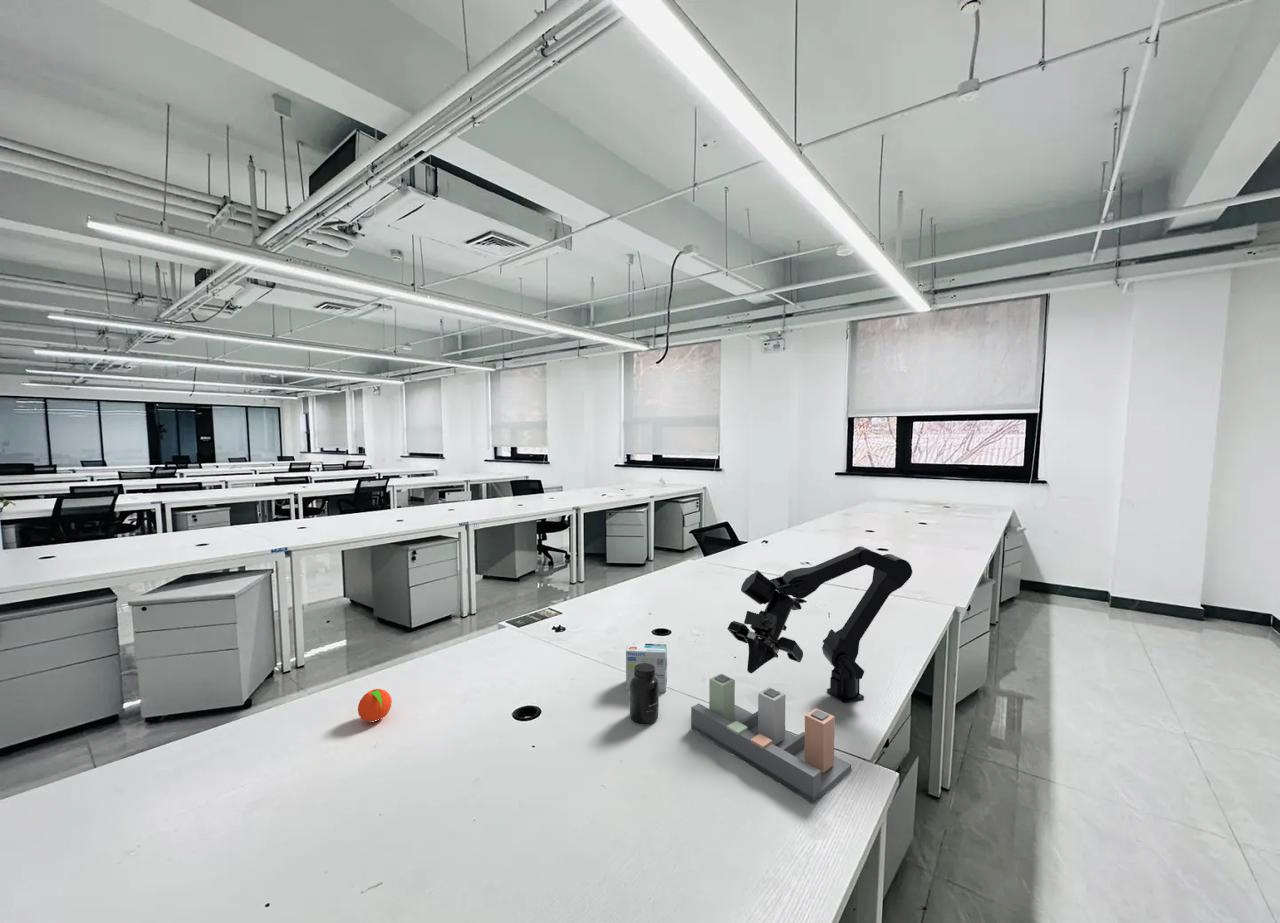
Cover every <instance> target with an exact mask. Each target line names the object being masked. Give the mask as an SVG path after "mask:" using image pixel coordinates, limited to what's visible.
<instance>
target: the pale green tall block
mask: <svg viewBox="0 0 1280 923" xmlns="http://www.w3.org/2000/svg"><path fill="white" fill-rule="evenodd" d="M735 680H736V679H734V678H732V677H729V676H727V675H725V674H723V673H719V674H717V675H715V676H713V677H711V678H709V689H708V690H709V693H708V694H709V695H708V696H709V700H708V701H709V703H708V704H709V705H708V706H709V707H708V709H710V710H712V711H714V712H716V713H717V714H719V715H721V716H723V717H725V718H726V719H728V720H730V721H732V722H734V721H735V705H736V703H735V702H736V701H735V700H736V699H735V698H736V696H735V692H736V689H735V688H736V685H735V684H736V683H735V682H736V681H735Z"/></svg>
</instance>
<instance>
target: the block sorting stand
mask: <svg viewBox="0 0 1280 923" xmlns="http://www.w3.org/2000/svg"><path fill="white" fill-rule="evenodd" d="M690 708H691V710H690V712H691V713H690V714H691V717H690V719H691V720H690V722H691V723H690V729H691V730H692V731H694V732H696V733H697V734H699V735H700V736H702V737H704V738H705V739H707V740H708V741H710V742H712V743H713V744H715V745H716V746H718V747H720V748H721V749H724V750H725V751H726V752H728V753H729V754H731V755H732V756H734V757H736V758H738V759H739V760H741V761H742V762H744V763H746V764H747V765H749V766H750V767H752V768H754V769H755V770H757V771H759V772H760V773H761V774H763V775H765V776H766V777H768V778H770V779H771V780H773V781H775V782H776V783H778V784H780V785H781V786H783V787H784V788H785V789H788V790H790V791H791V792H792V793H794V794H796V795H797V796H799V797H800V798H802V799H804V800H805V801H807V802H809V803H810V804H812V805H815V804H816V803H817V802H818V801H819V800H820V799H821V798H822V797H823V796H824V795H826V794H827V793H828V792H829V791H830V790H831V789H832V788H833V787H835V786H836V785H837V784H838V783H839V782H841V781H842V780H843V779H844V778H845V777H846V776H847V775H848V774H849V773H850V772H851V771H852V764H851V763H849V762H847V761H845V760H843V759H841V758H840V757H838V756H836V755H834V765H833V766H831V767H830V768H829V769H828V770H827V771H825V772H824V773H822V772H821V770H819V769H817V768H815V767H813V766H811V765H810V764H808V763H806V762H804V756H805V731H802V732H801V733H799V734H798V735H794V733H791V732H789V731H787V730H785V739H783V740H782V741H780V742H779V743H777V744H776V745H773V744H772V740H771V739H769V738H767V737H765V736H763V735H761V734H758V710H757V711H755V712H754V713H752V712H750V711H748V710H746V709H744V708H742V707H741V706H738V705H737V704H735V721H734V722H732V721H730V720H728V719H726V718H725V717H723V716H721V715H719V714H717V713H716V712H714V711H712V710H710V709H709V707H706V706H705V705H703V704H701V703H696V704H695V705H693V706H691V707H690ZM844 776H845V777H844ZM843 777H844V778H843ZM836 783H837V784H836ZM835 784H836V785H835ZM827 791H828V792H827ZM826 792H827V793H826Z"/></svg>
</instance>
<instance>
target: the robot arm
mask: <svg viewBox="0 0 1280 923" xmlns="http://www.w3.org/2000/svg"><path fill="white" fill-rule="evenodd" d="M864 566H868V567H871V568H873V570H872V571H873V572H872V581H871V583H870V585H869V586H868V588H867V589H866V591H865V592H864V593H863V595H862V598H861V599H860V601H859V602H858V603H857V605H856V607H855V608H854V609H853V611H852V613H851V614H850V616H849V618H848V619H847V620H846V621H845V624H844V625H843V627H842V628H839V629H838V630H837V631H834V630H833V628H831V629H830V630H829V631H828V634H827V635H826V637H825V638H824V639H823V640H822V643H823V644H822V647H821V650H822V654H823V656H824V658H826V659H827V661H828V662H829V663H830V665H832V667H833V669H831V671H830V672H831V676H830V683H829V684H830V685H829V688H826V692H827V693H829V694H830V695H831V696H833V697H835V698H837V699H838V700H839V701H841V702H842V703H850V702H855V701H860V700H863V699H865V696H864V695H863V694H861V693H860V680H861V679H863V677H864V674H865V670H864V669H863V668H862V667H861V666H860V665H859V664H858V663H857V662H856V660H857V657H858V655H859V650H860V649H859V648H860V642H861V640H862V638H863V637H864V635H865V633H866V632H867V631H868V629H869V627H870V626H871V624H872V622H873V621H874V620H875V618H876V616H877V615H878V614H879V612H880V610H881V608H883V606H884V604H885V602H886V601H887V600H888V598H889V597H890V595H891V594H892V593H894V592H896V591H897V590H899V589H901V588H902V587H903V586H904V585H905V584H906V583H908V581H909V579H910V578H911V577H912V575H913V569H912V566H911V564H910V562H909V561H908V560H905V559H903V558H901V557H898V556H897V555H894V554H892V553H885V554H880V553H878V552H876V551H873V550H871V549H868V548H867V547H864V546H861V545H859V546H856V547H854V548H853V549H851V550H849V551H847V552H845V553H842V554H840V555H838V556H835V557H832V558H829V559H828V560H826V561H823V562H821V563H819V564H817V565H814V566H809V567H800V568H796V569H791V570H788V571H786V572H785V573H784V574H783V575H782V576H778V577H775V578H771V579H769V578H768V577H766V576H765V575H764V574H763V573H762V572H761V571H760V570H758V569H757V570H755V571H754V573H751V574H750V575H749V576H748V577H746V578H745V579H744V581H743V582H742V583H741V588H740V590H741V591H740V592H741V593H743V594H744V595H746V596H747V597H749V598H750V599H752V600H753V601H754V602H755V603H757V604H758V605H762V604H764V605H766V606H765V609H764V610H760V611H759V613H756V612H753V611H749V610H747V611H746V613H745V618H744V621H743V623H742V622H739V621H735V620H733V621H731V622H730V623H729V625H728V627H727V628H726V629H727V631H728V632H729V633H730V634H731V635H732V636H733V637H734V639H736V640H737V641H739V642H742V643H744V644H747V645H748V657H747V658H748V659H747V669H746V670H747V672H748V674H749V673H750V674H753V673H755V672H756V671H757V670H759V669H760V668H761V667H762V666H764V665H765V664H766V663H768V662H769V661H771V660H773V659H774V658H776V659H777V658H779V654H778V653H779V651H782V652H785V653H786V654H787V655H786V656H787V657H788V659H789V660H791V661H795V662H797V663H801V662H802V660H803V657H804V651H803V649H802V648H801V647H800V645H799V644H798V643H797V641H796V640H794V639H791V638H789V637H788V638H787V637H784V636H781V634H782V632H783V631H784V632H786V631H787V628H788V627H787V625H786V623H787V621H788V618H789V616H790V613H791V611H798V610H802V608H803V607H802V605H801V604H800V602H799V600H801V599H805V598H806V597H808V596H810V595H811V594H813V593H815V592H816V591H817V590H818V589H819V587H820V586H821V585H823V584H824V583H826V582H829V581H831V580H834V579H835V578H839V577H840V576H842V575H845V574H848V573H850V572H852V571H854V570H857V569H859V568H861V567H864ZM791 596H792V597H793V598H792V597H791ZM747 625H750V628H751V630H750V629H749V628H748V627H747ZM752 630H753V631H752Z"/></svg>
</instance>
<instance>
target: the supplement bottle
mask: <svg viewBox="0 0 1280 923" xmlns="http://www.w3.org/2000/svg"><path fill="white" fill-rule="evenodd" d="M659 693H660V692H659V682H658V680H657V678H656V677H655V667H654V666H653V665H652V664H648V663H640V664H637V665H636V666H635V668H634V677H633V678H632V679H631V681H630V690H629V719H630V721H632V722H633V723H634V724H638V725H643V726H646V725H647V726H648V725H651V724H654V723H655V722H656V721H658V719H659V711H660V710H659V706H660V705H659V704H660V703H659V701H660V700H659V699H660V694H659Z"/></svg>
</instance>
